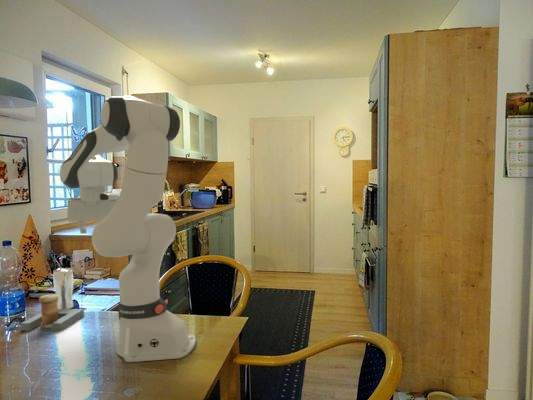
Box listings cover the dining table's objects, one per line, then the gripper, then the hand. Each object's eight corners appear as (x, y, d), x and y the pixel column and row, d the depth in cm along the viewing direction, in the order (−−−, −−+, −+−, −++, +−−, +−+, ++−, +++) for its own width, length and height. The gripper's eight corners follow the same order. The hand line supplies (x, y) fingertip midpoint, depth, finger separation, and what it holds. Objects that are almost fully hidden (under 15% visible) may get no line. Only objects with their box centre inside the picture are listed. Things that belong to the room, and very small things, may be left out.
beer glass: (62, 304, 157) (60, 267, 157) (78, 304, 156) (76, 267, 156) (51, 310, 151) (48, 272, 150) (67, 310, 150) (65, 272, 149)
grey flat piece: (84, 315, 143) (83, 309, 143) (60, 330, 130) (60, 323, 129) (48, 315, 145) (47, 309, 145) (21, 330, 131) (20, 323, 131)
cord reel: (63, 322, 138) (61, 294, 137) (53, 328, 132) (51, 299, 131) (48, 322, 138) (46, 294, 138) (37, 328, 132) (35, 299, 132)
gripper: (62, 197, 145) (64, 234, 145) (114, 195, 143) (116, 233, 143) (72, 197, 151) (74, 233, 151) (123, 195, 149) (124, 231, 149)
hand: (95, 233), depth 147 cm, fingers open, 8 cm apart
